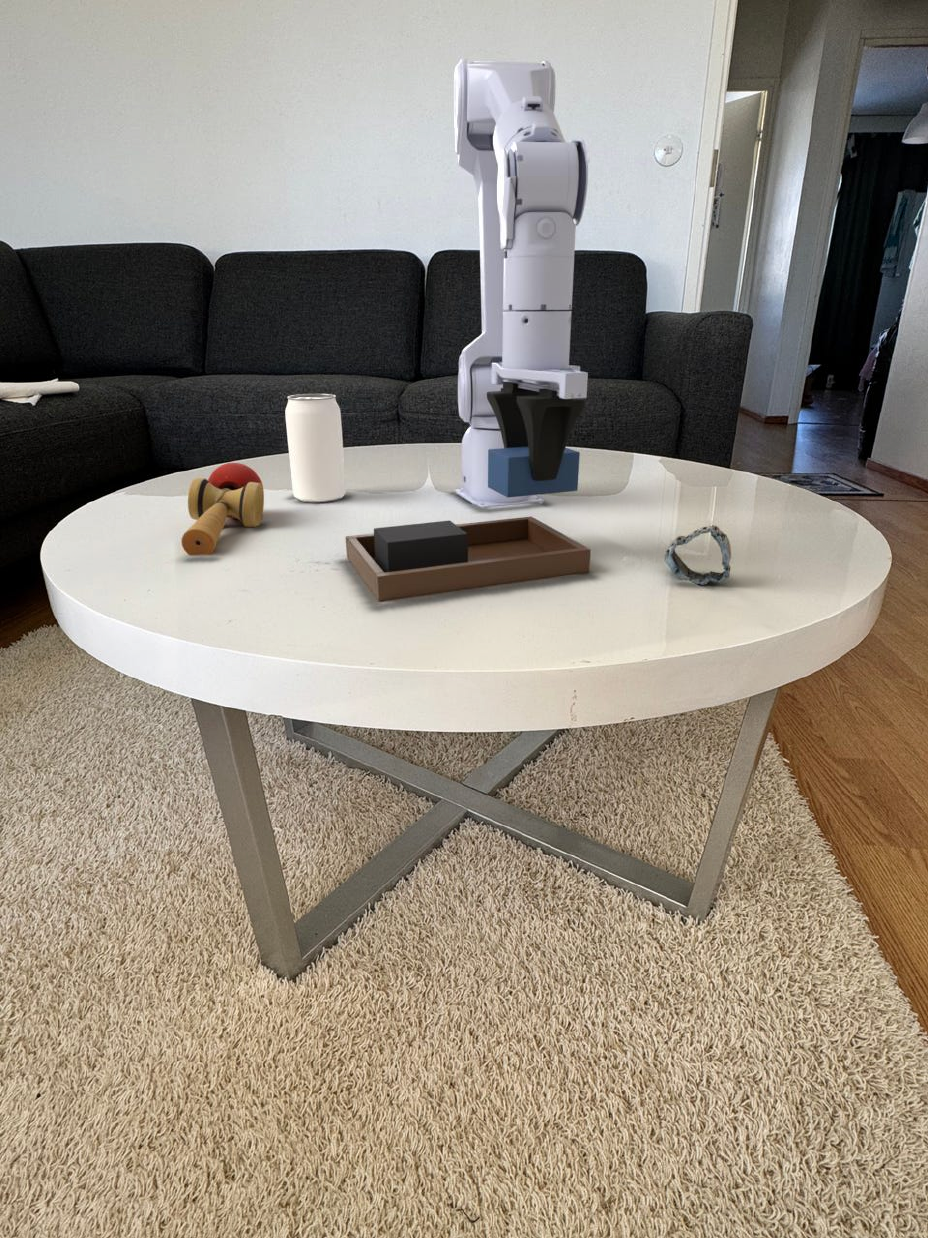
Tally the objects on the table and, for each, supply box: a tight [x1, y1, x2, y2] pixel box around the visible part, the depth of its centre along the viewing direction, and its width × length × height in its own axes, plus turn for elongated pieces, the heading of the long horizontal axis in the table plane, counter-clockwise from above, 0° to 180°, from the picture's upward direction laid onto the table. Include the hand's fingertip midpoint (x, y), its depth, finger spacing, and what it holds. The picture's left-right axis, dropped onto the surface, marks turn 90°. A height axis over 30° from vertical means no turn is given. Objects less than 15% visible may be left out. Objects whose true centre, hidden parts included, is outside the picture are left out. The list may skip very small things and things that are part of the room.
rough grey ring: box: [664, 524, 732, 586], centre depth 60 cm, size 3×5×5 cm
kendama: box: [181, 462, 265, 556], centre depth 74 cm, size 8×6×18 cm
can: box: [284, 393, 347, 504], centre depth 87 cm, size 6×6×12 cm
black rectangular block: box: [373, 520, 468, 573], centre depth 62 cm, size 4×7×4 cm, turn 111°
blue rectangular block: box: [488, 447, 581, 498], centre depth 65 cm, size 4×7×4 cm, turn 111°
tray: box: [345, 516, 592, 603], centre depth 63 cm, size 12×19×2 cm, turn 111°
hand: (531, 474), depth 65 cm, fingers closed on blue rectangular block, 4 cm apart
